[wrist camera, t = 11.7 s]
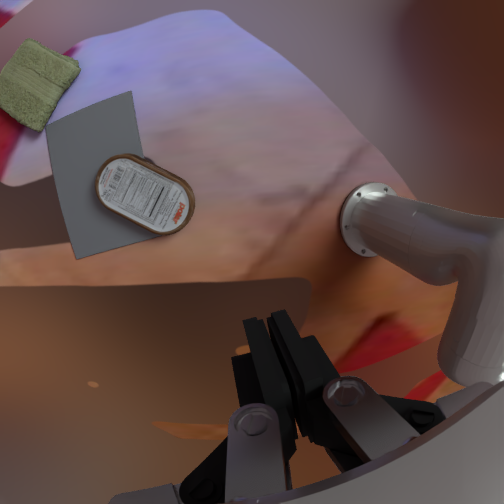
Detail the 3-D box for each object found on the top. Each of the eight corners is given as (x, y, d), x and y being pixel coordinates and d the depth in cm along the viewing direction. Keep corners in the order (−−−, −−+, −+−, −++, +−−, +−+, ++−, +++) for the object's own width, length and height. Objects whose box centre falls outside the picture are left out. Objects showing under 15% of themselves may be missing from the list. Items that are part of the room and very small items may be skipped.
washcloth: (31, 38, 24) (22, 32, 21) (88, 66, 29) (80, 60, 26) (-9, 101, 26) (-19, 98, 23) (42, 139, 31) (31, 138, 28)
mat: (131, 91, 32) (131, 90, 32) (162, 235, 39) (162, 235, 39) (46, 126, 31) (45, 126, 31) (77, 258, 38) (76, 259, 38)
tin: (114, 144, 34) (92, 196, 36) (106, 144, 31) (83, 201, 33) (205, 189, 38) (179, 240, 40) (205, 193, 35) (176, 248, 37)
